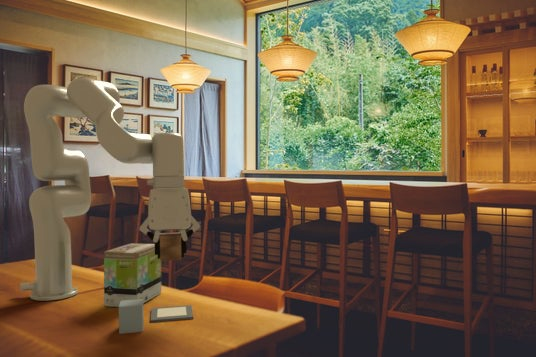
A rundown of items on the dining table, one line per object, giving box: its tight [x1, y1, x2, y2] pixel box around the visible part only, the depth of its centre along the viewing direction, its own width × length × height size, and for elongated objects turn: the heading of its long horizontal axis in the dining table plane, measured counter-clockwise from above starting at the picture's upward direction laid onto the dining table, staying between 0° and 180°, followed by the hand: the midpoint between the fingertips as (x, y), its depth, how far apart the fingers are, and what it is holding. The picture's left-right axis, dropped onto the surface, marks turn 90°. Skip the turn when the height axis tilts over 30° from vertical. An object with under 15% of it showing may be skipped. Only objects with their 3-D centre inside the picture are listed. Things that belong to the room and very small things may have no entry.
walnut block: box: [159, 231, 182, 262], centre depth 118 cm, size 5×5×6 cm
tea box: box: [103, 242, 162, 308], centre depth 132 cm, size 15×10×15 cm, turn 168°
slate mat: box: [149, 304, 194, 323], centre depth 119 cm, size 10×10×1 cm
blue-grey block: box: [118, 299, 145, 334], centre depth 108 cm, size 5×5×6 cm
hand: (170, 256), depth 118 cm, fingers closed on walnut block, 5 cm apart
